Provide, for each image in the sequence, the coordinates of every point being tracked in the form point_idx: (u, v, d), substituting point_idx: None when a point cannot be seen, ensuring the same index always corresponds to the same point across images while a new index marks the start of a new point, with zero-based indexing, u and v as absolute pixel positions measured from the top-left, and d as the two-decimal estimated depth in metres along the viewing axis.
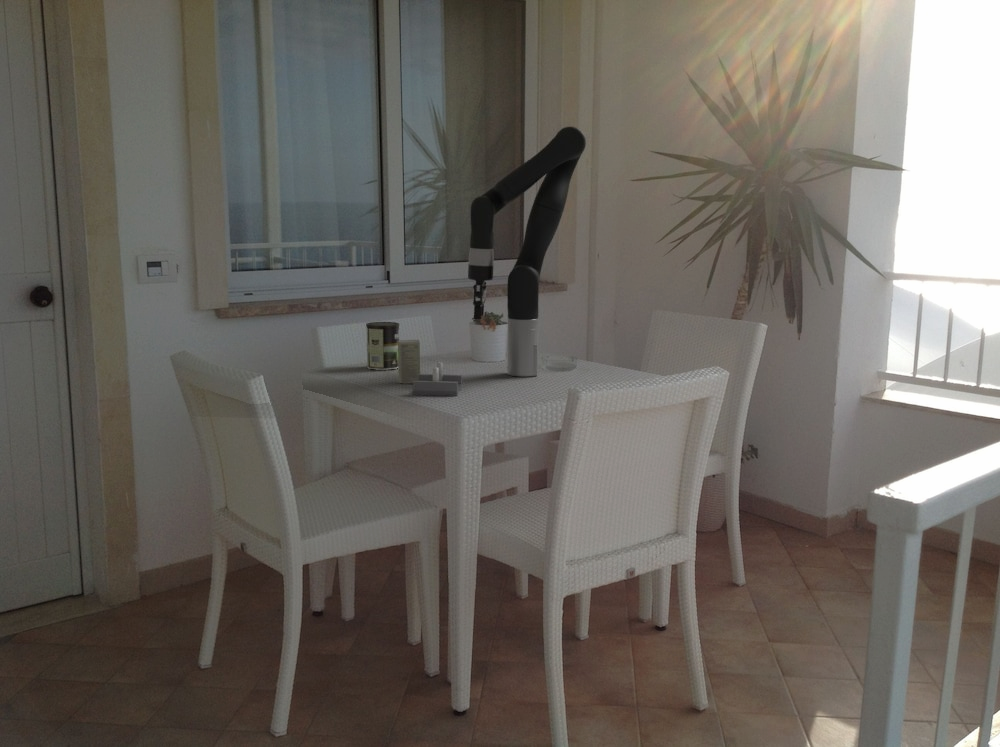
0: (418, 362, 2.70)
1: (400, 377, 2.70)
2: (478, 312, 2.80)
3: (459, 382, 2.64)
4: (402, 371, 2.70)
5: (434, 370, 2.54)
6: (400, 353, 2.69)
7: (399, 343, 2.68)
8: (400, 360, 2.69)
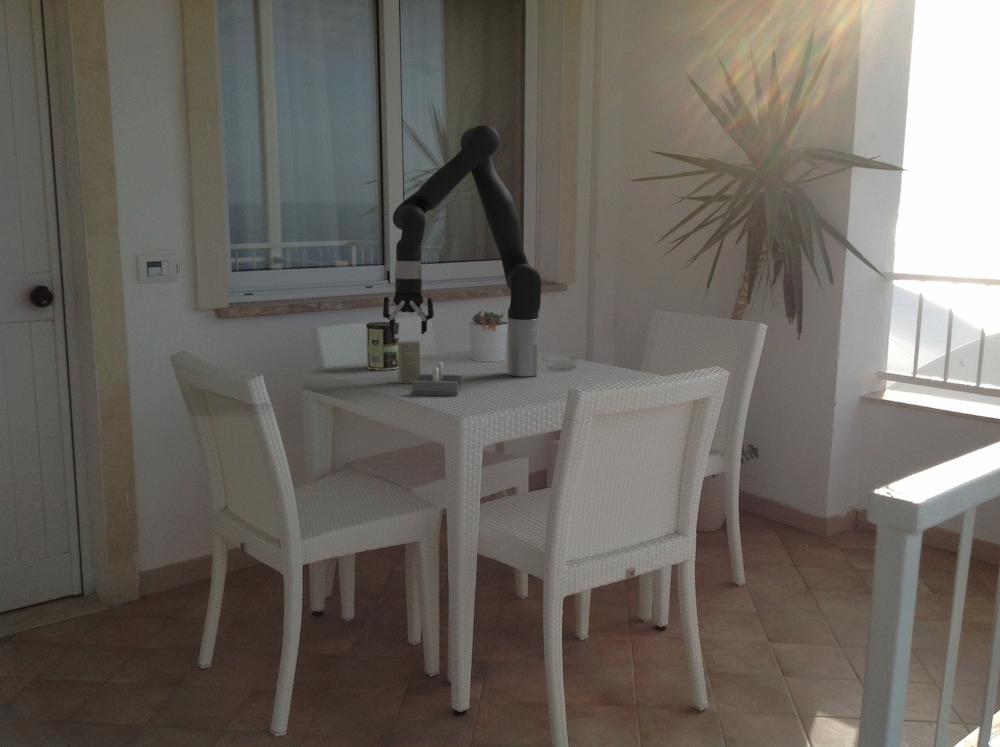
0: (418, 362, 2.70)
1: (400, 377, 2.70)
2: (426, 326, 2.70)
3: (459, 382, 2.64)
4: (402, 371, 2.70)
5: (434, 370, 2.54)
6: (400, 353, 2.69)
7: (399, 343, 2.68)
8: (400, 360, 2.69)
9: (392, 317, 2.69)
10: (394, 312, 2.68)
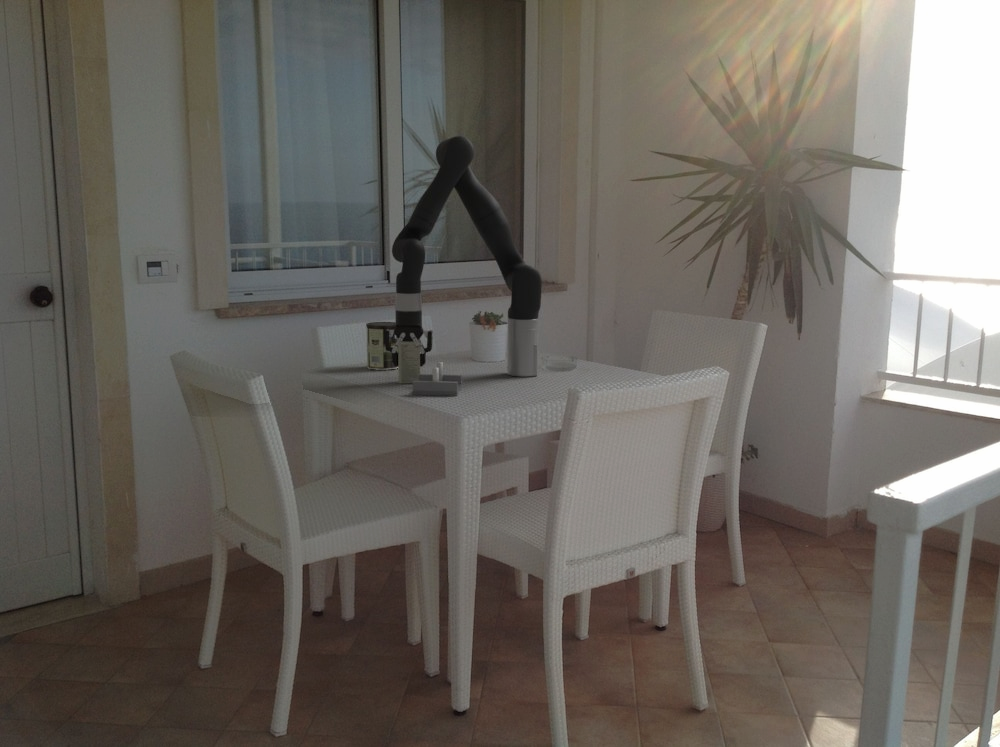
0: (418, 362, 2.70)
1: (400, 377, 2.70)
2: (425, 358, 2.72)
3: (459, 382, 2.64)
4: (402, 371, 2.70)
5: (434, 370, 2.54)
6: (400, 353, 2.69)
7: (399, 343, 2.68)
8: (400, 360, 2.69)
9: (395, 350, 2.70)
10: (396, 345, 2.70)
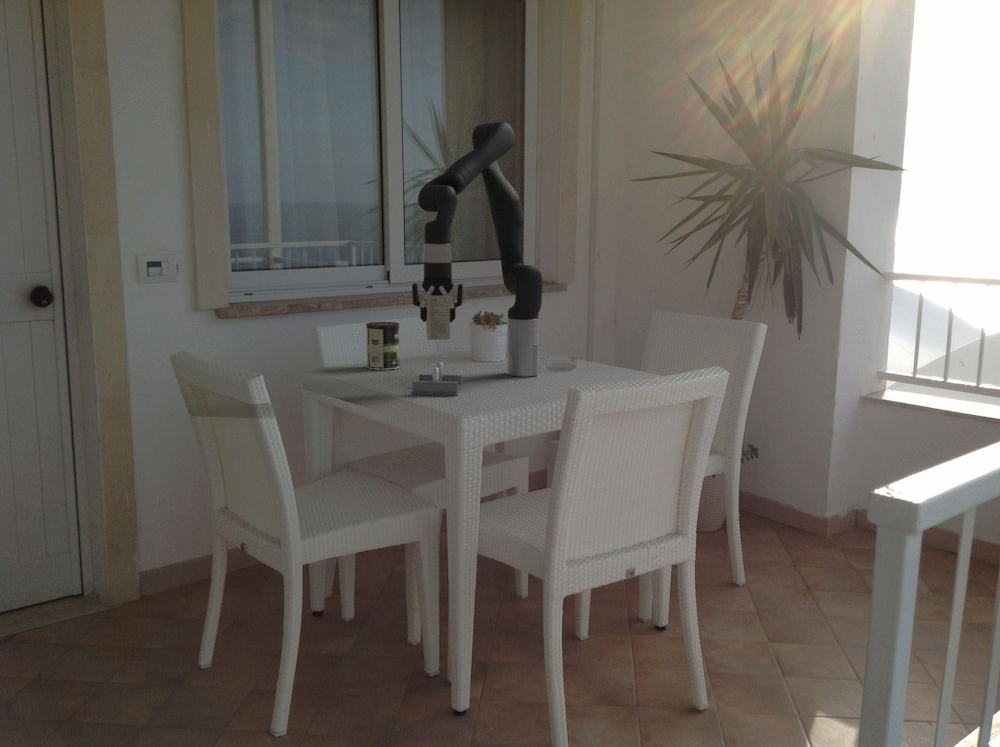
0: (448, 317, 2.55)
1: (429, 333, 2.55)
2: (455, 314, 2.57)
3: (459, 382, 2.64)
4: (430, 327, 2.55)
5: (434, 370, 2.54)
6: (429, 307, 2.54)
7: (428, 297, 2.53)
8: (429, 315, 2.54)
9: (423, 305, 2.55)
10: (424, 299, 2.55)
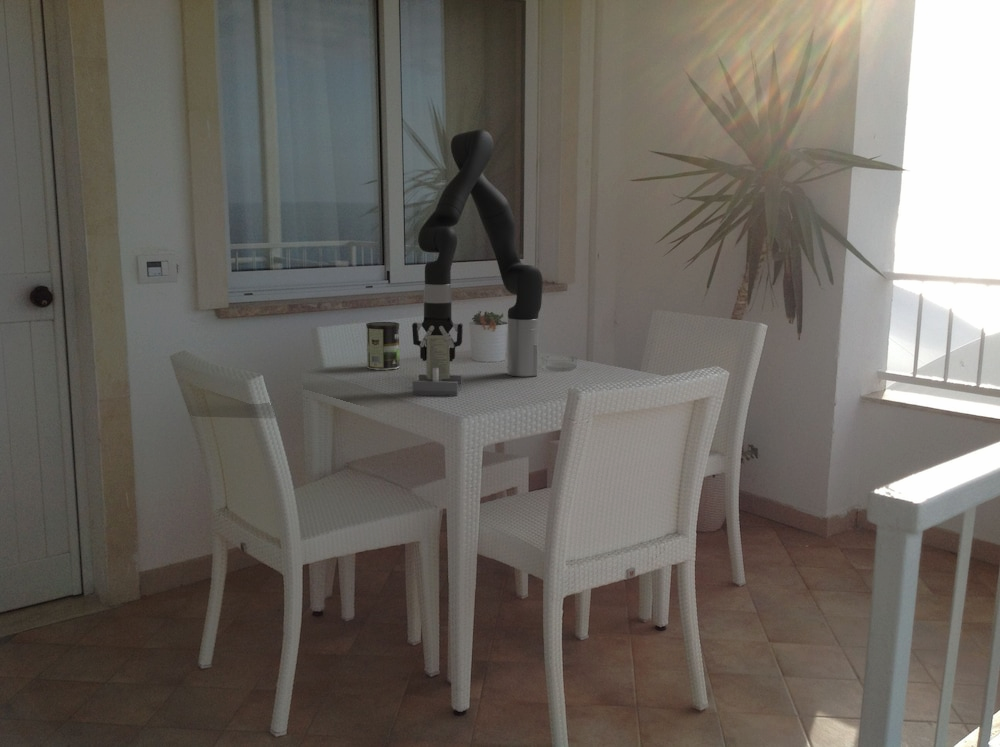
0: (447, 357, 2.57)
1: (429, 373, 2.57)
2: None
3: (459, 382, 2.64)
4: (430, 366, 2.57)
5: (434, 370, 2.54)
6: (429, 347, 2.56)
7: (428, 336, 2.55)
8: (429, 354, 2.56)
9: (423, 344, 2.57)
10: (424, 339, 2.57)
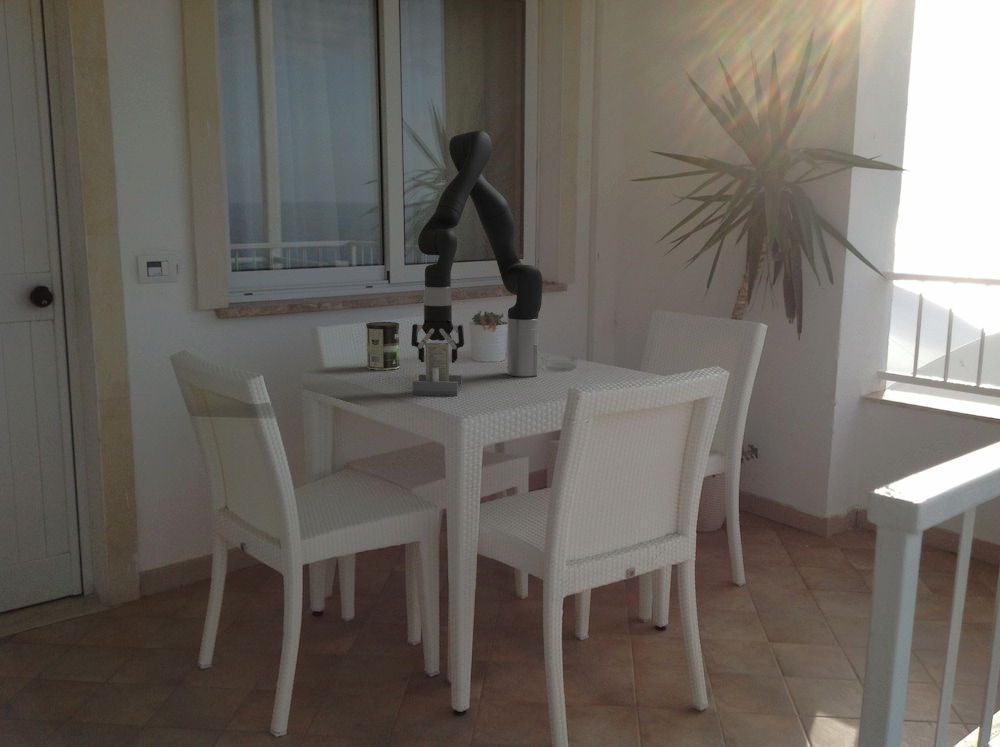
0: (446, 365, 2.58)
1: None
2: None
3: (459, 382, 2.64)
4: (429, 375, 2.57)
5: (434, 370, 2.54)
6: (428, 356, 2.56)
7: (427, 345, 2.56)
8: (428, 363, 2.57)
9: (421, 345, 2.57)
10: (423, 340, 2.57)
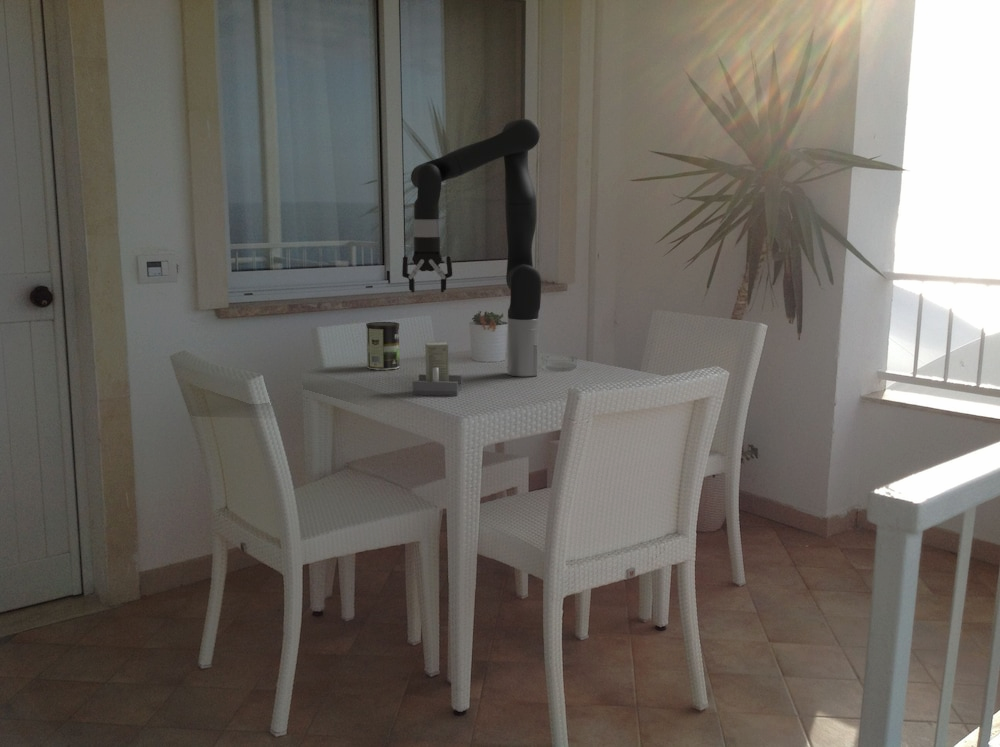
0: (446, 365, 2.58)
1: None
2: None
3: (459, 382, 2.64)
4: (429, 375, 2.57)
5: (434, 370, 2.54)
6: (428, 356, 2.56)
7: (427, 345, 2.56)
8: (428, 363, 2.57)
9: (411, 276, 2.70)
10: (413, 271, 2.70)
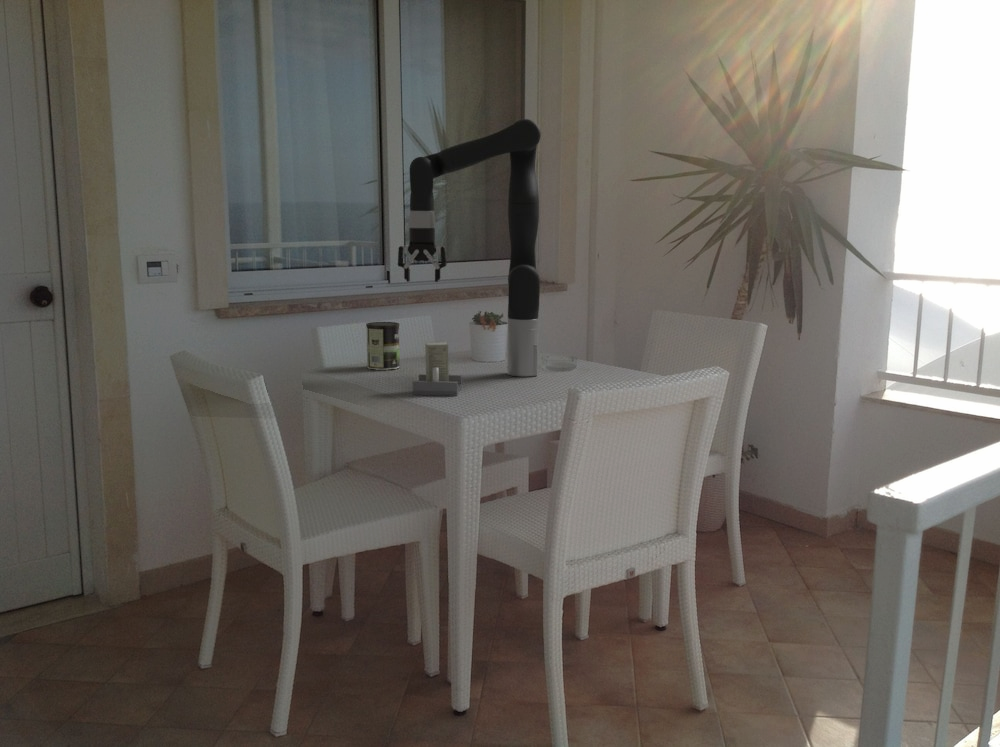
0: (446, 365, 2.58)
1: None
2: None
3: (459, 382, 2.64)
4: (429, 375, 2.57)
5: (434, 370, 2.54)
6: (428, 356, 2.56)
7: (427, 345, 2.56)
8: (428, 363, 2.57)
9: (407, 266, 2.79)
10: (408, 261, 2.78)
